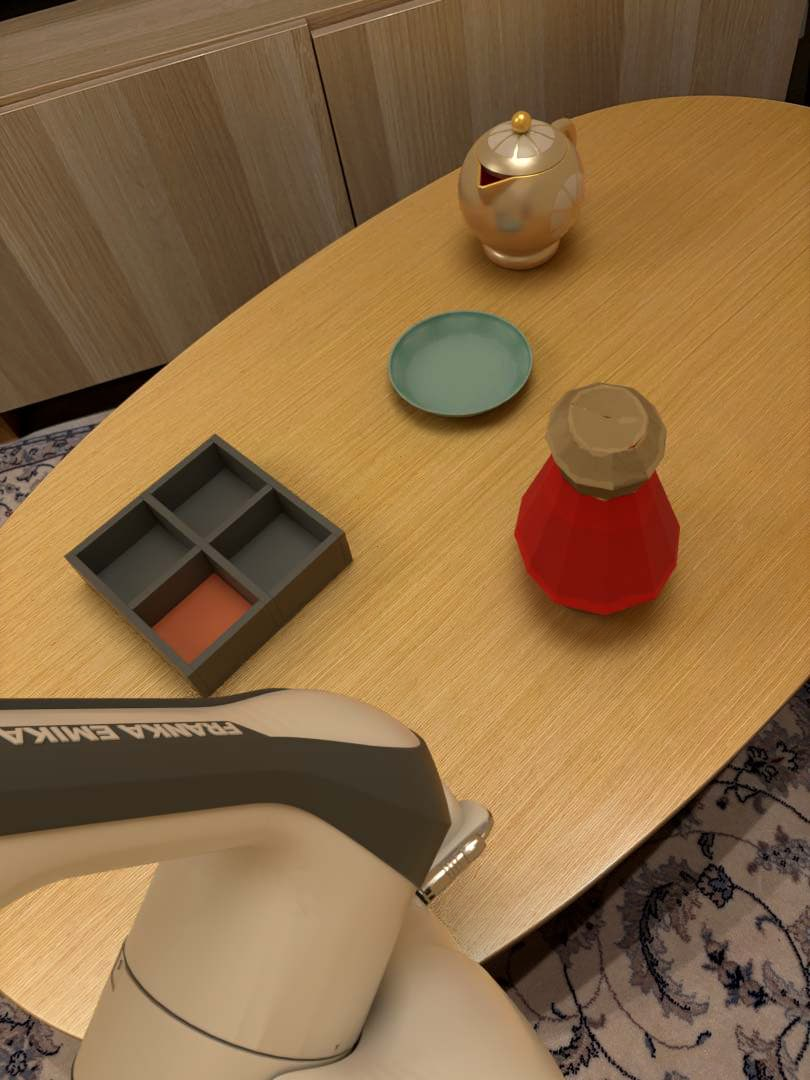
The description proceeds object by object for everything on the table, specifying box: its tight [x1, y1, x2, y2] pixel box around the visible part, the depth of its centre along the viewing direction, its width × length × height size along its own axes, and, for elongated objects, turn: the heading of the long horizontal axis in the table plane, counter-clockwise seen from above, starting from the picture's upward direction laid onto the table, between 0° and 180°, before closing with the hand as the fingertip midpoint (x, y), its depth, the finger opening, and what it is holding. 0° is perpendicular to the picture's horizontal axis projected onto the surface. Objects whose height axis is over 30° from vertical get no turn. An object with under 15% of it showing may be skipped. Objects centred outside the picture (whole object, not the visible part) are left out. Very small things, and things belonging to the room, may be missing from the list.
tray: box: [63, 433, 354, 698], centre depth 78 cm, size 18×18×5 cm
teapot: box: [457, 110, 586, 271], centre depth 94 cm, size 18×14×16 cm
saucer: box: [387, 309, 534, 418], centre depth 89 cm, size 15×15×3 cm
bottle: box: [513, 381, 681, 616], centre depth 68 cm, size 16×14×20 cm
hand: (288, 858), depth 56 cm, fingers open, 8 cm apart
